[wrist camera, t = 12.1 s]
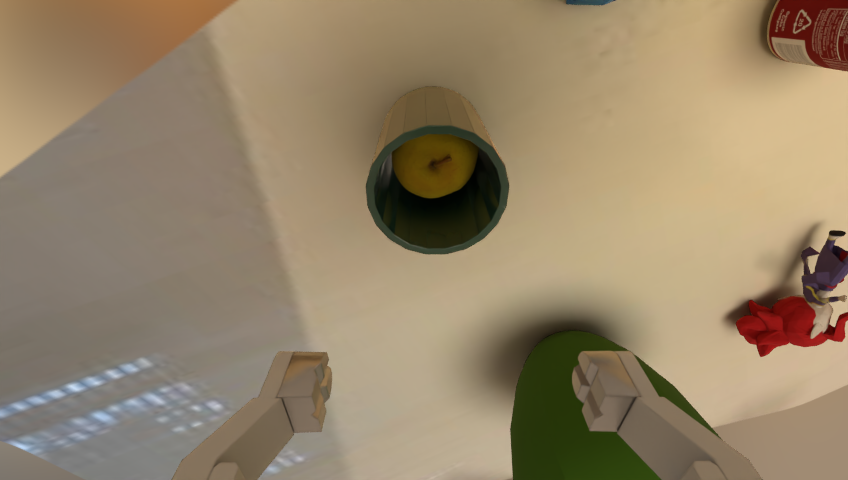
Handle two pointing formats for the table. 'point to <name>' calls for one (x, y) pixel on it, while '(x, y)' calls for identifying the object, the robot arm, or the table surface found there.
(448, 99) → the green cup
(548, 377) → the vase
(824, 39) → the soda can
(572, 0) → the perfume bottle
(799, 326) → the figurine
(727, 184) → the table surface
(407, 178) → the apple
